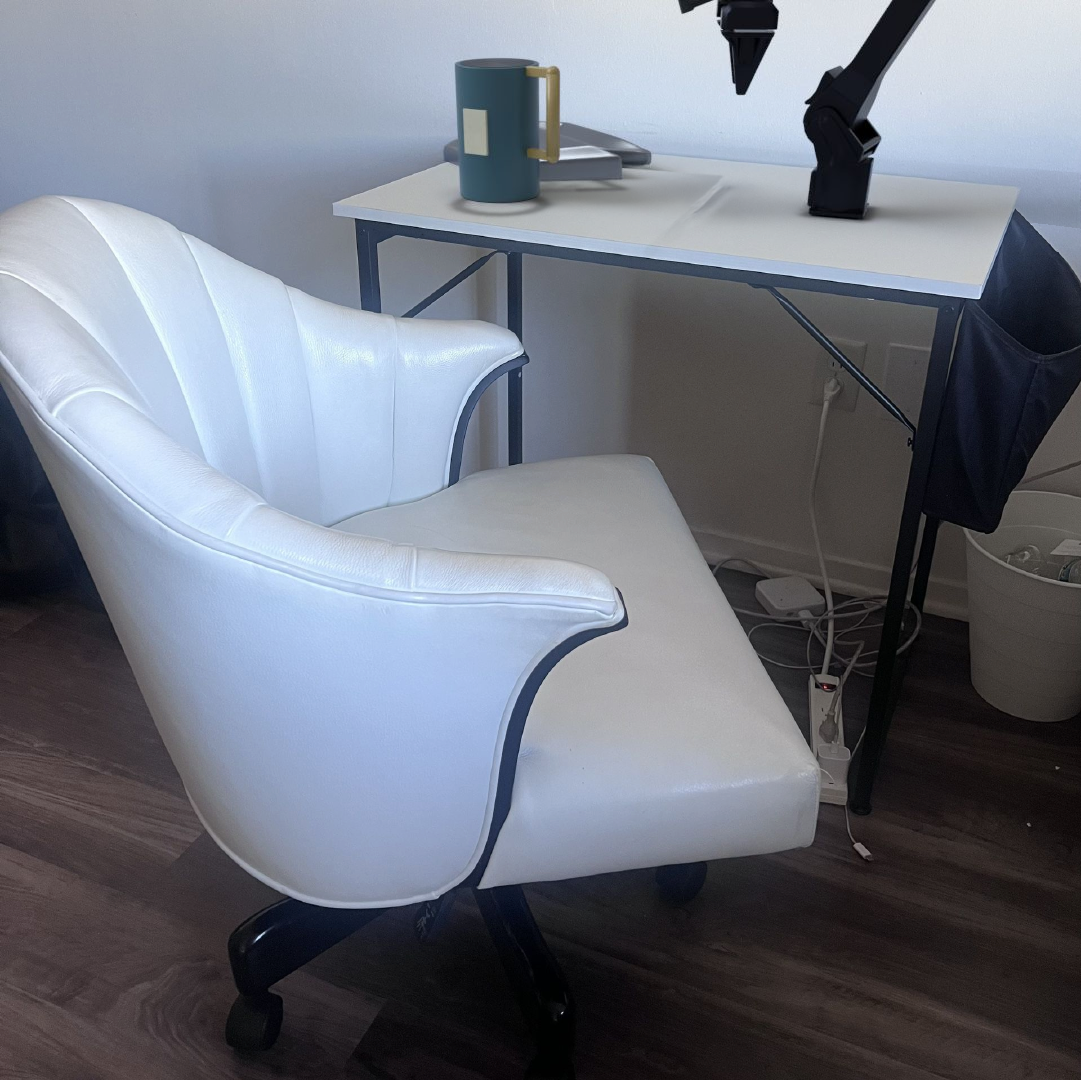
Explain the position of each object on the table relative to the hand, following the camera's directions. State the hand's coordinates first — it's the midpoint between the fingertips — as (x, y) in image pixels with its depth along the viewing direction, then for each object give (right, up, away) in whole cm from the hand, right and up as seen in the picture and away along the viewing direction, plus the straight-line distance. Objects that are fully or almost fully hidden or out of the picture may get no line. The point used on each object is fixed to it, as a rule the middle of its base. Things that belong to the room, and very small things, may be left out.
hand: (738, 89), depth 126 cm
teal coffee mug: (-28, -12, +3) cm, 31 cm away
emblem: (-23, -2, +21) cm, 32 cm away
